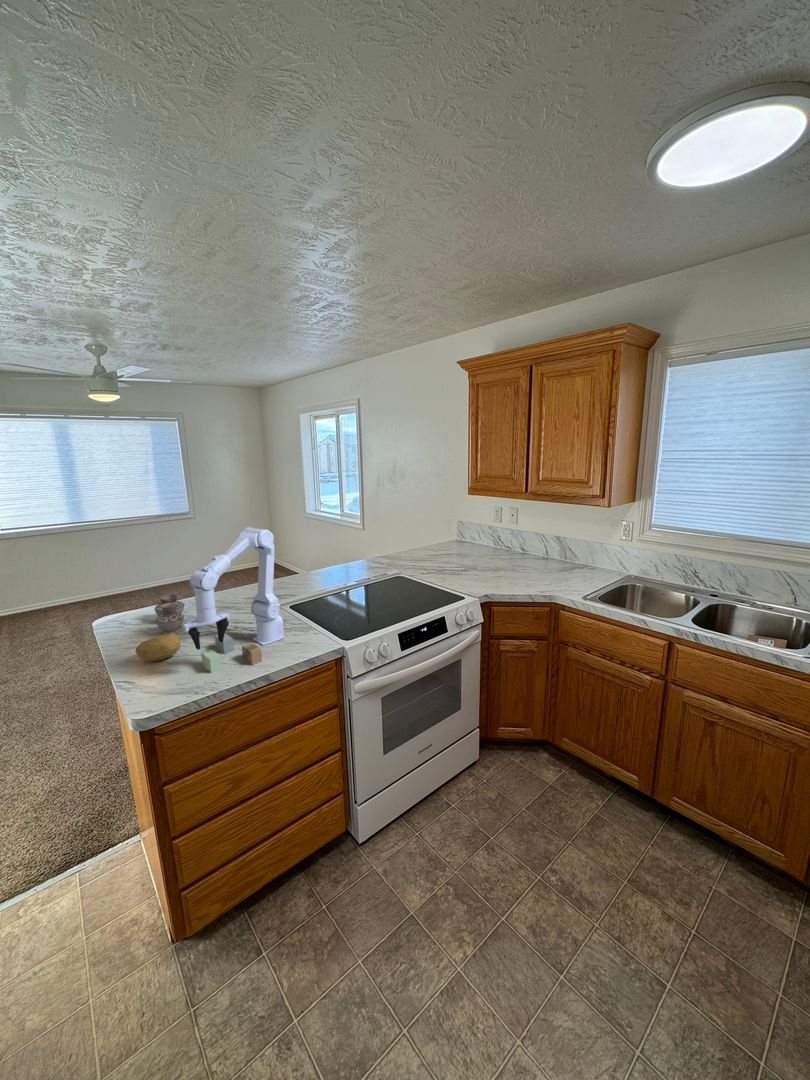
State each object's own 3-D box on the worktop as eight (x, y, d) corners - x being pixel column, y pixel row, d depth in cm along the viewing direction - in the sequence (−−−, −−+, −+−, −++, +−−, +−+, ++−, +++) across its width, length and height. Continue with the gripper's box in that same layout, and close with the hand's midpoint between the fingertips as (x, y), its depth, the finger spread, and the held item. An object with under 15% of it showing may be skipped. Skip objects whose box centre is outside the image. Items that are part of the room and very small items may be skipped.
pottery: (155, 640, 167) (152, 611, 165) (156, 618, 189) (152, 591, 186) (188, 634, 173) (185, 606, 170) (185, 613, 194) (182, 587, 191)
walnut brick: (242, 658, 154) (241, 645, 153) (252, 655, 156) (251, 642, 155) (252, 665, 149) (251, 652, 148) (262, 662, 152) (261, 648, 151)
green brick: (202, 666, 149) (201, 652, 148) (212, 662, 151) (211, 649, 150) (211, 673, 144) (209, 659, 143) (221, 669, 147) (220, 655, 146)
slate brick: (216, 647, 162) (214, 635, 161) (225, 644, 164) (224, 632, 163) (224, 654, 157) (223, 641, 156) (233, 650, 160) (232, 638, 159)
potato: (134, 660, 152) (131, 638, 151) (178, 648, 161) (175, 627, 160) (140, 670, 145) (137, 648, 143) (185, 657, 154) (183, 636, 152)
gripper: (222, 598, 151) (225, 634, 154) (177, 609, 140) (182, 648, 143) (231, 603, 146) (234, 640, 149) (186, 615, 136) (190, 655, 139)
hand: (209, 644), depth 146 cm, fingers open, 7 cm apart
